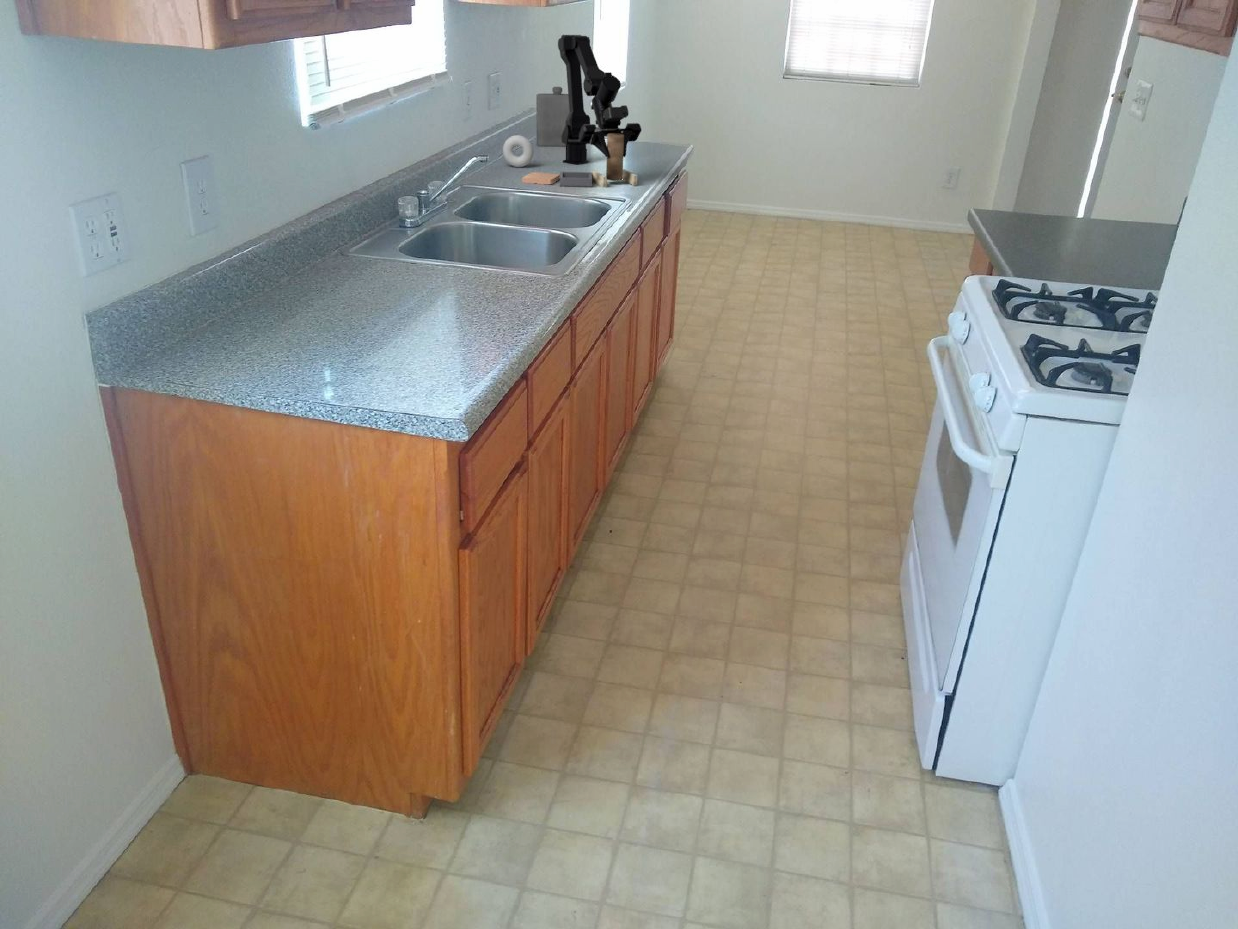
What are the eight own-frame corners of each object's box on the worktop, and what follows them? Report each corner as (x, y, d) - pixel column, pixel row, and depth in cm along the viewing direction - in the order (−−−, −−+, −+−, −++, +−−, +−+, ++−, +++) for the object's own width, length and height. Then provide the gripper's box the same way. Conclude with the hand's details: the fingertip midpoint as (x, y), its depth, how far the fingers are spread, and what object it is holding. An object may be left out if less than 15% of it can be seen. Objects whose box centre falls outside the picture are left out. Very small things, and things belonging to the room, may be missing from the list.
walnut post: (602, 178, 290) (604, 134, 284) (612, 176, 294) (613, 132, 287) (616, 181, 287) (617, 136, 281) (625, 178, 291) (627, 134, 285)
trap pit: (560, 179, 293) (560, 171, 292) (591, 180, 293) (591, 172, 292) (559, 186, 284) (559, 177, 283) (591, 187, 285) (591, 178, 284)
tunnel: (591, 180, 293) (591, 170, 292) (624, 179, 297) (624, 169, 296) (603, 187, 285) (603, 177, 284) (637, 185, 289) (637, 175, 288)
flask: (577, 144, 350) (577, 86, 341) (578, 147, 345) (579, 88, 336) (536, 143, 349) (536, 85, 339) (537, 146, 344) (536, 87, 334)
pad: (532, 176, 295) (532, 171, 295) (560, 179, 293) (560, 174, 293) (522, 182, 288) (522, 177, 287) (550, 184, 286) (550, 179, 285)
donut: (534, 166, 310) (534, 134, 305) (532, 168, 307) (532, 136, 302) (504, 165, 310) (503, 133, 306) (502, 167, 307) (501, 135, 303)
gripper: (582, 95, 279) (595, 141, 276) (640, 94, 286) (653, 139, 282) (573, 119, 289) (585, 164, 286) (629, 118, 296) (641, 161, 292)
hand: (616, 156), depth 286 cm, fingers closed on walnut post, 5 cm apart
